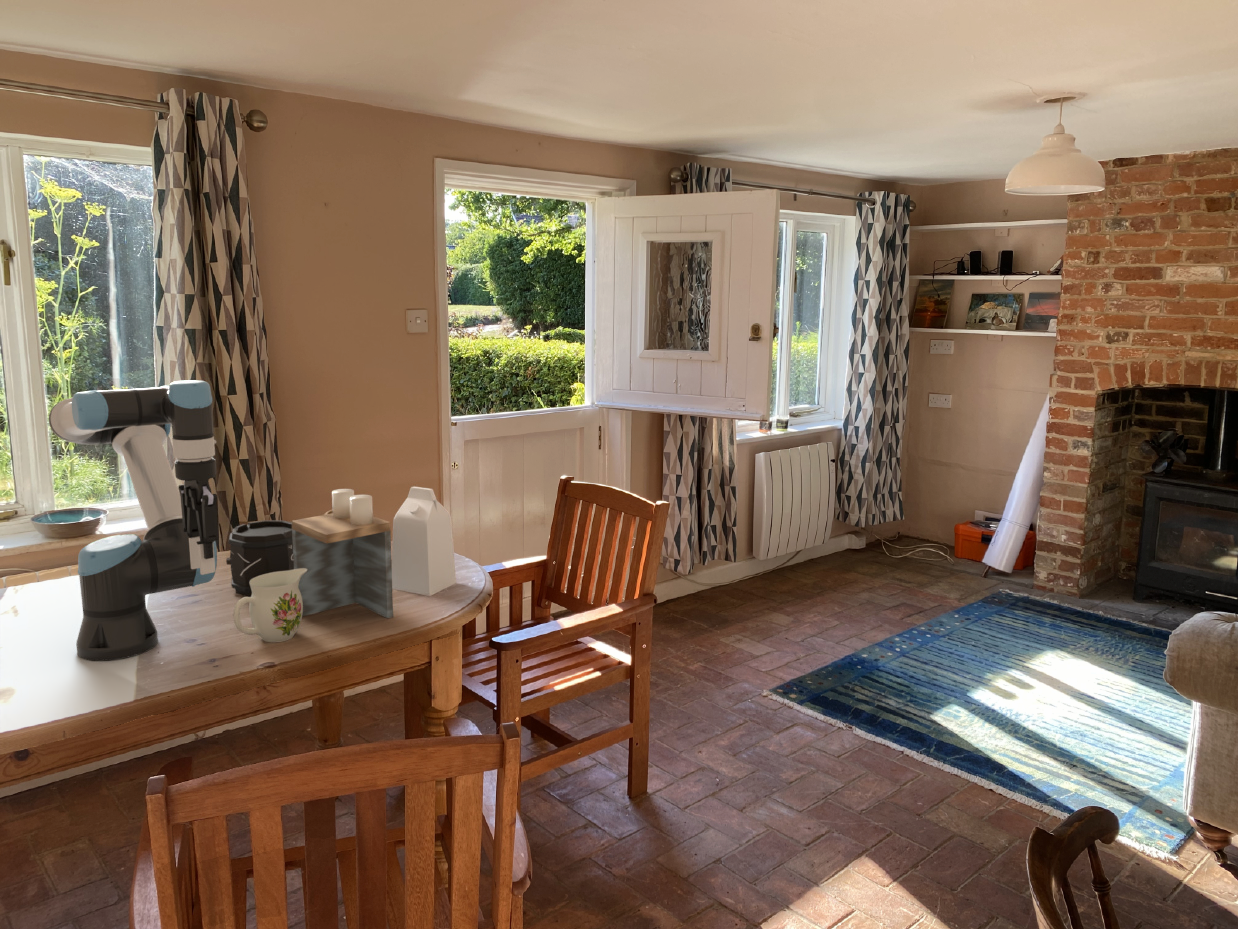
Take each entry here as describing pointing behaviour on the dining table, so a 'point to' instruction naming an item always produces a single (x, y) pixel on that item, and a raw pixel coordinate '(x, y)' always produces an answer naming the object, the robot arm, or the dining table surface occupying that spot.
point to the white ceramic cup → (361, 510)
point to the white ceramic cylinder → (341, 503)
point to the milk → (422, 545)
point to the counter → (343, 564)
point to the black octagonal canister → (259, 551)
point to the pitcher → (273, 605)
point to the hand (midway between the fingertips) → (203, 570)
